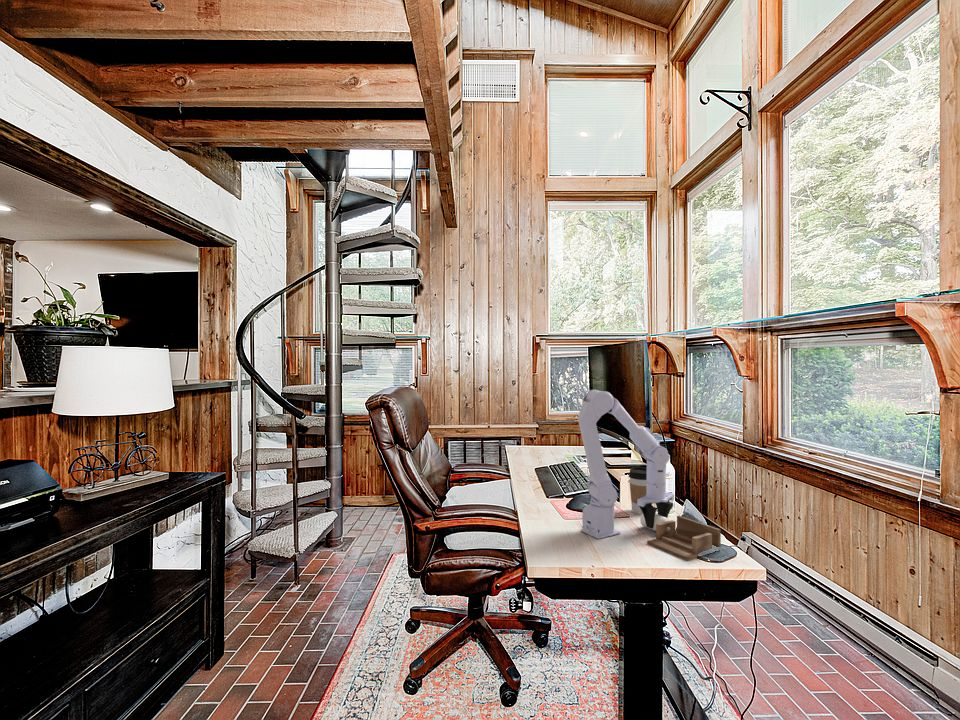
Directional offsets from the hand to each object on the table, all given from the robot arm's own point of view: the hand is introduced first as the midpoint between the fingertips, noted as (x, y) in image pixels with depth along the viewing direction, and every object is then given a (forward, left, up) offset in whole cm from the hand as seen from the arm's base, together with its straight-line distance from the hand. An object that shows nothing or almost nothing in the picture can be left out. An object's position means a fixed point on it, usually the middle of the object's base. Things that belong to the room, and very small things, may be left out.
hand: (655, 525), depth 149 cm
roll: (0, 0, +1) cm, 1 cm away
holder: (-4, -13, -1) cm, 14 cm away
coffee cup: (+10, +15, -2) cm, 18 cm away
